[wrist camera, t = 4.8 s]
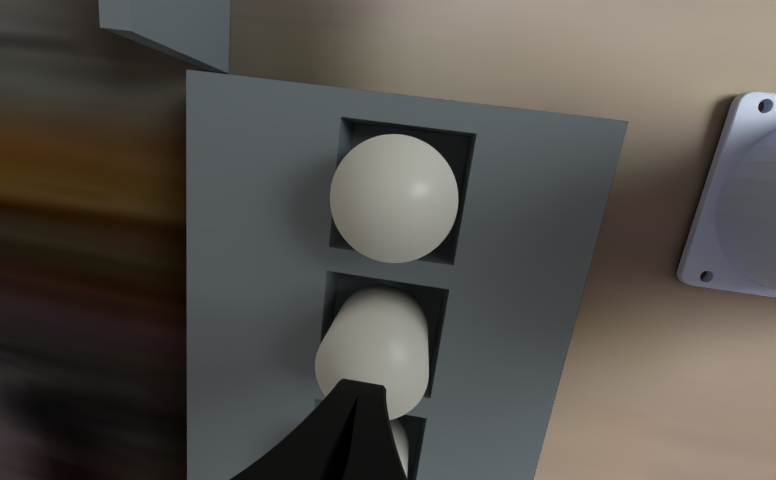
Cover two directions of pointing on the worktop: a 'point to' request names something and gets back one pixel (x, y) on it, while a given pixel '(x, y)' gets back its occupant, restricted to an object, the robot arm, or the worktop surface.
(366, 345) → the button
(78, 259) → the worktop surface
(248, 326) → the board
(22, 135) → the worktop surface
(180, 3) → the card
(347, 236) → the button
